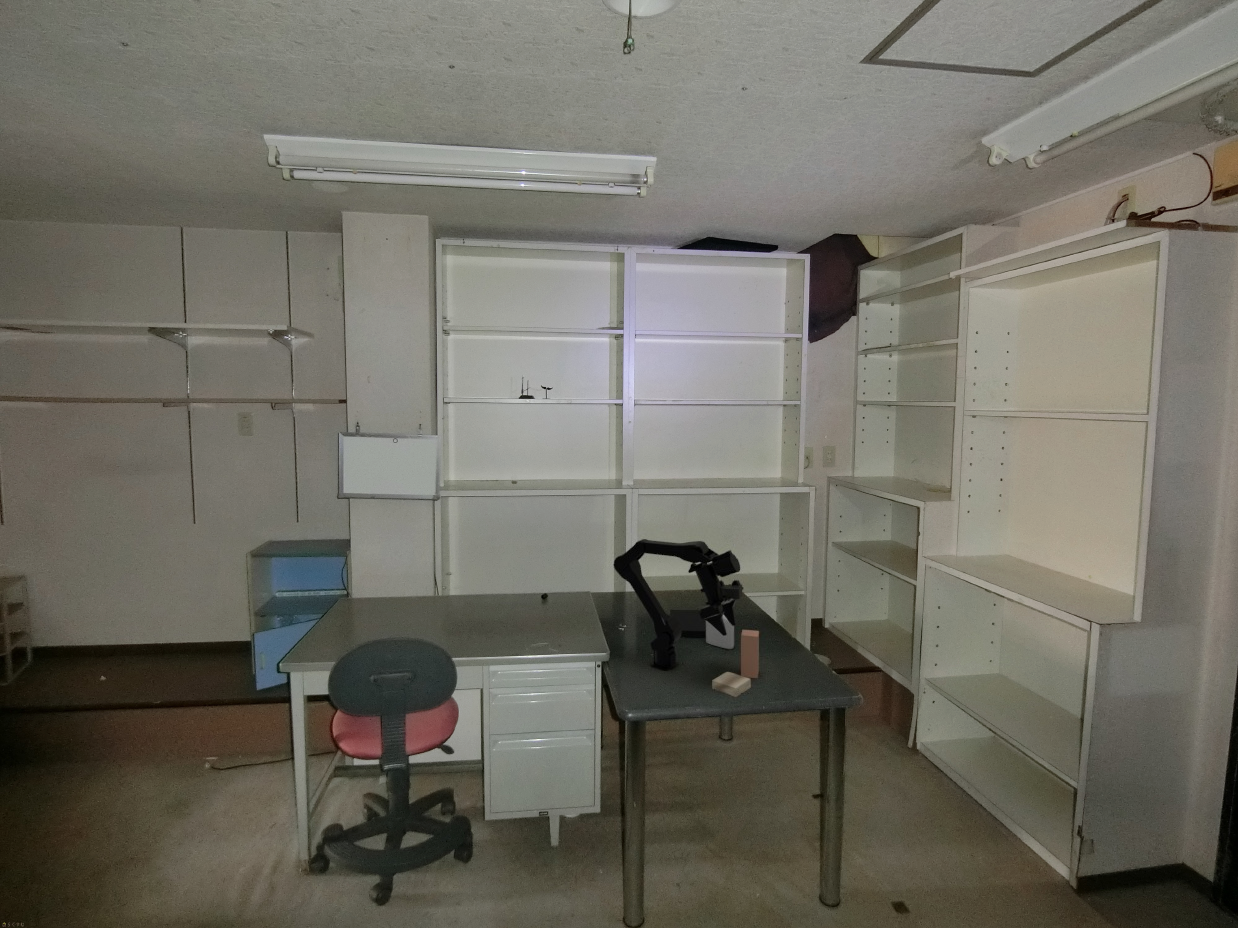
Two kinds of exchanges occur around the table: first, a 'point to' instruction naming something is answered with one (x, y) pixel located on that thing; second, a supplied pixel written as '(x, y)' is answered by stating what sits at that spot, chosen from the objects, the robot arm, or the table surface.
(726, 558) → the robot arm
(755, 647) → the column
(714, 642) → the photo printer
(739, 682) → the slab
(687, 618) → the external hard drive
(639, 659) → the table surface
